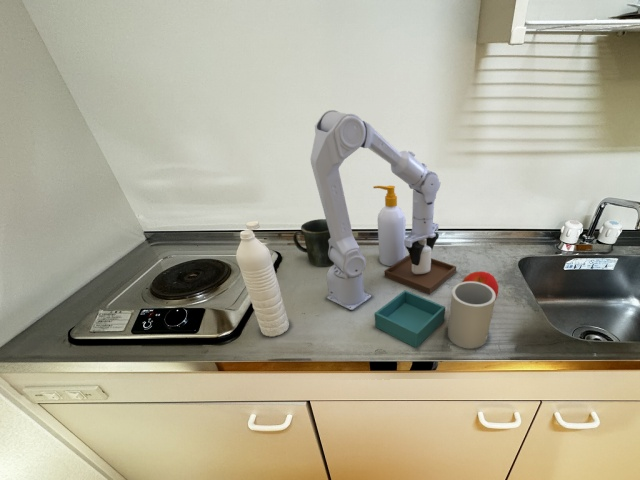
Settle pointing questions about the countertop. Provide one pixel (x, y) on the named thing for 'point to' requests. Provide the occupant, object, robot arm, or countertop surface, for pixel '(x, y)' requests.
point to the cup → (470, 314)
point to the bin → (410, 318)
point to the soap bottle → (391, 229)
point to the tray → (420, 275)
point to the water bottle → (261, 283)
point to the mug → (315, 242)
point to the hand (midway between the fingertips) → (421, 260)
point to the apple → (483, 280)
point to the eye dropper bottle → (423, 259)
